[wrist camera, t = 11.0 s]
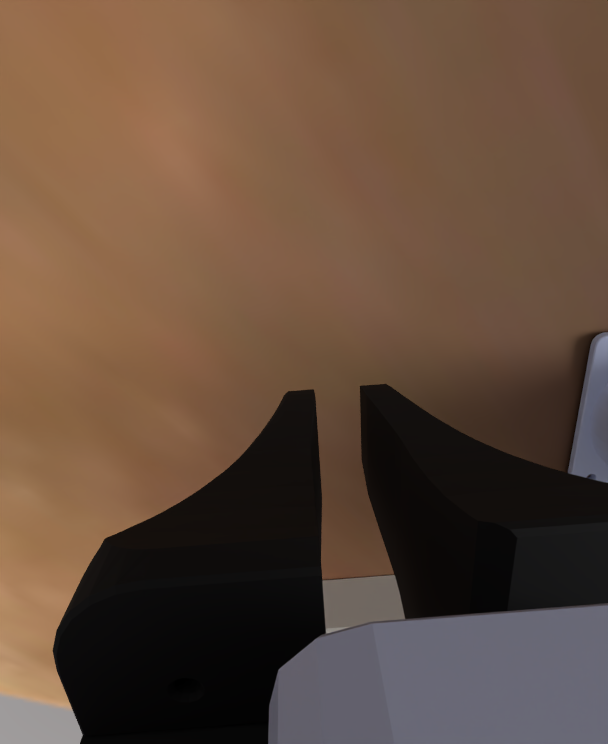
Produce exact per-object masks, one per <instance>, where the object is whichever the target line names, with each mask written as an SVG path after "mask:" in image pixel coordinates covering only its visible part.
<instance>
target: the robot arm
mask: <svg viewBox="0 0 608 744" xmlns="http://www.w3.org/2000/svg"><path fill="white" fill-rule="evenodd" d="M360 406H361V448H362V463H363V469H364V475H365V480H366V485H367V490H368V495H369V498H370V501H371V504H372V507H373V511H374V514H375V517H376V520H377V523H378V526H379V529H380V532H381V535H382V538H383V541H384V544H385V547H386V550H387V553H388V556H389V559H390V562H391V565H392V568H393V571H394V574H395V578H396V582H397V585H398V589H399V593H400V597H401V602H402V606H403V611H404V616H405V619H400V620H387V621H374V622H368V623H364V624H360V625H357V626H353V627H349V628H345V629H342V630H338V631H334V632H331V633H327V634H326V626H325V612H324V597H323V583H322V570H321V522H322V492H321V476H320V461H319V446H318V430H317V415H316V400H315V393H314V390H300V391H288V392H287V393H286V394H285V395H284V397H283V399H282V401H281V403H280V405H279V406H278V408H277V410H276V411H275V413H274V415H273V416H272V418H271V419H270V421H269V422H268V423H267V425H266V426H265V428H264V429H263V431H262V432H261V433H260V435H259V436H258V437H257V438H256V439H255V441H254V442H253V443H252V444H251V445H250V447H249V448H248V449H247V450H246V451H245V452H244V453H243V454H242V455H241V457H240V458H239V459H238V460H237V461H235V462H234V463H233V464H232V465H231V466H230V467H229V468H228V469H227V470H225V471H224V472H223V473H222V474H220V475H219V476H218V477H216V478H215V479H214V480H212V481H211V482H210V483H208V484H207V485H205V486H204V487H203V488H201V489H200V490H199V491H197V492H196V493H194V494H193V495H191V496H189V497H188V498H186V499H185V500H183V501H181V502H180V503H178V504H176V505H174V506H173V507H171V508H169V509H167V510H166V511H164V512H162V513H160V514H158V515H156V516H154V517H152V518H150V519H148V520H146V521H144V522H141V523H139V524H137V525H135V526H133V527H130V528H128V529H126V530H124V531H122V532H119V533H117V534H115V535H112V536H110V537H108V538H105V540H104V541H103V543H102V545H101V547H100V548H99V550H98V551H97V553H96V555H95V556H94V558H93V559H92V561H91V563H90V564H89V566H88V568H87V570H86V572H85V574H84V575H83V577H82V579H81V581H80V583H79V585H78V587H77V589H76V591H75V594H74V596H73V598H72V600H71V602H70V604H69V606H68V608H67V610H66V612H65V614H64V616H63V618H62V620H61V623H60V625H59V627H58V629H57V631H56V636H55V642H54V647H53V654H54V659H55V664H56V669H57V672H58V675H59V677H60V680H61V682H62V684H63V687H64V689H65V692H66V694H67V697H68V699H69V702H70V704H71V707H72V709H73V712H74V714H75V716H76V719H77V721H78V724H79V726H80V729H81V731H82V734H83V737H82V739H81V742H80V744H608V332H604V333H600V334H598V335H597V336H595V338H594V339H593V340H592V343H591V346H590V352H589V357H588V363H587V369H586V374H585V380H584V385H583V391H582V396H581V402H580V407H579V413H578V418H577V424H576V430H575V435H574V441H573V446H572V452H571V457H570V463H569V468H568V473H565V472H562V471H558V470H555V469H551V468H548V467H545V466H541V465H539V464H536V463H533V462H530V461H527V460H524V459H521V458H518V457H515V456H512V455H510V454H507V453H505V452H502V451H500V450H497V449H495V448H493V447H491V446H488V445H486V444H484V443H482V442H479V441H477V440H475V439H473V438H471V437H469V436H467V435H465V434H463V433H461V432H459V431H458V430H456V429H454V428H452V427H451V426H449V425H447V424H445V423H443V422H442V421H440V420H439V419H437V418H435V417H434V416H432V415H431V414H429V413H428V412H426V411H424V410H423V409H422V408H420V407H419V406H417V405H416V404H414V403H413V402H411V401H410V400H409V399H407V398H406V397H404V396H403V395H401V394H400V393H399V392H397V391H396V390H394V389H393V388H392V387H390V386H388V385H387V384H380V385H366V386H360ZM590 474H591V476H590V477H588V478H586V477H587V476H588V475H590Z"/></svg>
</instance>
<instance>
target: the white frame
mask: <svg viewBox="0 0 608 744" xmlns="http://www.w3.org/2000/svg"><path fill="white" fill-rule="evenodd" d="M322 583H323V597H324V612H325V626H326V634H327V633H331V632H334V631H338V630H342V629H345V628H349V627H353V626H357V625H360V624H364V623H368V622H374V621H387V620H400V619H405V616H404V611H403V606H402V602H401V597H400V593H399V589H398V585H397V582H396V578H395V575H388V576H375V577H362V578H349V579H336V580H323V581H322Z"/></svg>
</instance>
